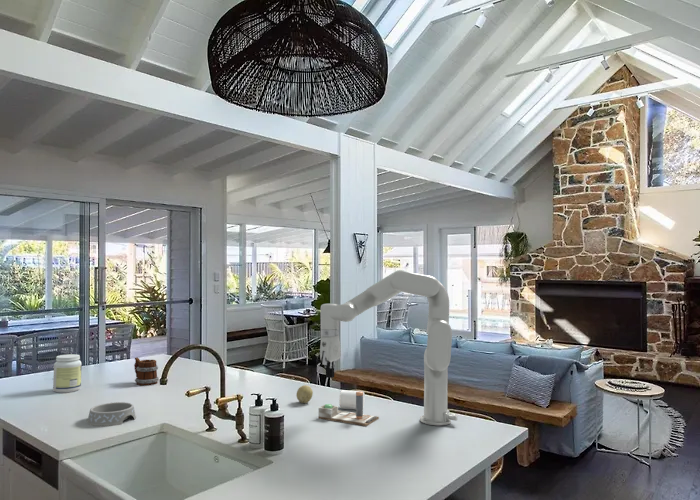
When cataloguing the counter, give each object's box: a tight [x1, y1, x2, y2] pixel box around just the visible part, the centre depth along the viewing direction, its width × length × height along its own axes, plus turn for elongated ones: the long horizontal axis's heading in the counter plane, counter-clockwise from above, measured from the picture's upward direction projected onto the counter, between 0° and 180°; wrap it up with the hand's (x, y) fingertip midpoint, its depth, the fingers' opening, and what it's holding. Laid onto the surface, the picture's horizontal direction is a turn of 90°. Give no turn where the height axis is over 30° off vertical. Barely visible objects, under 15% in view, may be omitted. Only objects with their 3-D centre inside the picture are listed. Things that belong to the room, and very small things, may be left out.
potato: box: [295, 384, 314, 404], centre depth 243 cm, size 8×8×8 cm
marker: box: [355, 391, 364, 419], centre depth 216 cm, size 3×3×10 cm
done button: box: [324, 403, 333, 409], centre depth 220 cm, size 3×3×3 cm
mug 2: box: [338, 389, 366, 411], centre depth 236 cm, size 12×10×8 cm
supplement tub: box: [52, 353, 83, 394], centre depth 260 cm, size 12×12×17 cm
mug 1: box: [133, 357, 160, 387], centre depth 278 cm, size 12×14×15 cm
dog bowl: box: [86, 401, 137, 427], centre depth 213 cm, size 17×18×5 cm
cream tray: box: [317, 404, 380, 427], centre depth 219 cm, size 22×12×4 cm, turn 63°
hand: (330, 377), depth 220 cm, fingers closed
